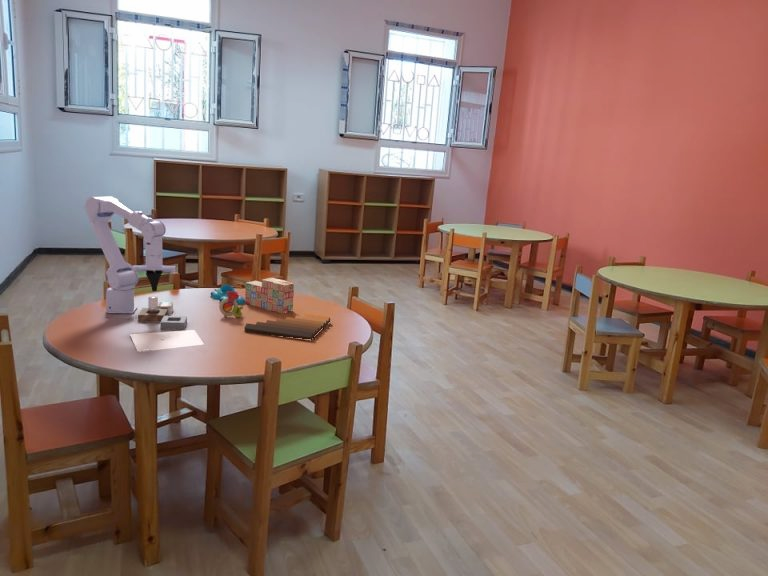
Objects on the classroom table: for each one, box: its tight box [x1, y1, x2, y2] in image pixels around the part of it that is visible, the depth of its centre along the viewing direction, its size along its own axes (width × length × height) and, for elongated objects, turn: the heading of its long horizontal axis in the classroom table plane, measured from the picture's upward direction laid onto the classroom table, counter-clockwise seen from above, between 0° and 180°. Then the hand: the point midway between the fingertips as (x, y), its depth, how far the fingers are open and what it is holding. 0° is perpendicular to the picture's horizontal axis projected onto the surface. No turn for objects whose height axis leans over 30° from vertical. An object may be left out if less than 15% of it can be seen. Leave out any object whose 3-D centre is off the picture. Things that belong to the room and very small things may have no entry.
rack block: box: [159, 315, 188, 330], centre depth 206 cm, size 8×8×2 cm
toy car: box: [210, 283, 246, 306], centre depth 245 cm, size 11×18×7 cm, turn 36°
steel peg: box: [147, 295, 159, 313], centre depth 212 cm, size 3×3×8 cm
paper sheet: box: [129, 329, 204, 353], centre depth 185 cm, size 24×29×1 cm
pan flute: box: [244, 313, 331, 339], centre depth 215 cm, size 25×3×25 cm
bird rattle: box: [219, 291, 244, 318], centre depth 221 cm, size 6×11×9 cm
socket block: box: [137, 307, 169, 323], centre depth 212 cm, size 9×9×2 cm
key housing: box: [158, 301, 174, 316], centre depth 220 cm, size 5×6×3 cm
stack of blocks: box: [244, 277, 295, 314], centre depth 239 cm, size 21×6×12 cm, turn 59°
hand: (154, 290), depth 211 cm, fingers closed
